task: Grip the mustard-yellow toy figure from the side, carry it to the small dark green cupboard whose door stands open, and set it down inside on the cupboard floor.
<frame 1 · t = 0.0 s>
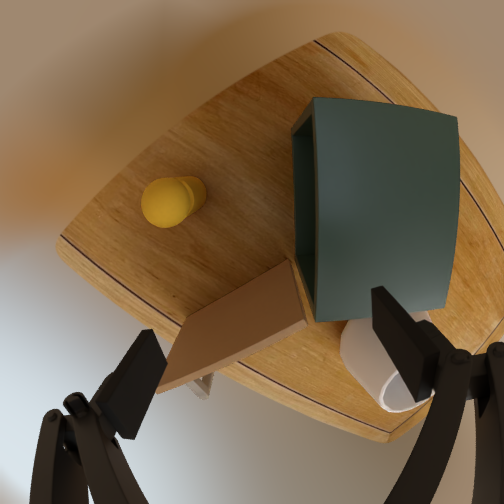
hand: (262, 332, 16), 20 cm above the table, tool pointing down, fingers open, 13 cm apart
white tapered cylinder: (376, 323, 37), on the table
toy: (189, 194, 33), on the table
cabinet door: (242, 338, 30), point 8 cm above the table, hinge at 120.0°
cabinet: (342, 195, 32), on the table
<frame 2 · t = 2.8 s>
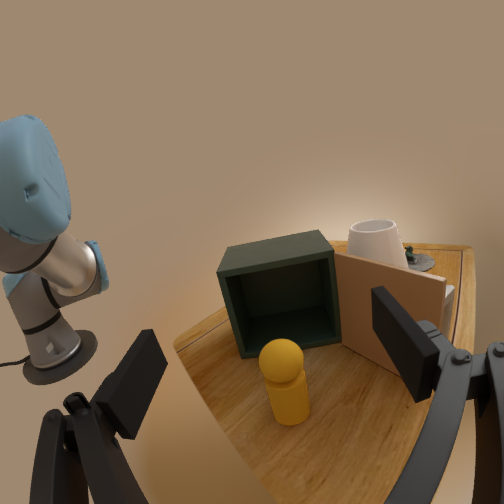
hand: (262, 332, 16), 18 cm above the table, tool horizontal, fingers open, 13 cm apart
white tapered cylinder: (377, 294, 51), on the table
toy: (292, 412, 30), on the table
sculpture: (411, 263, 60), on the table
cabinet door: (396, 310, 32), point 8 cm above the table, hinge at 120.0°
cabinet: (289, 330, 47), on the table
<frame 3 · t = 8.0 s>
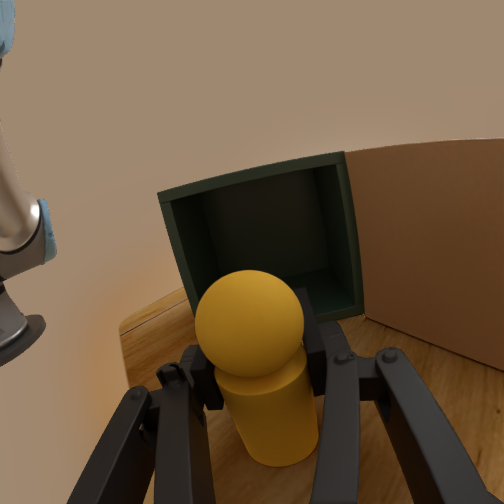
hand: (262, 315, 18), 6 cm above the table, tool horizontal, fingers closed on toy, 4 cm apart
toy: (282, 438, 14), on the table, touching gripper
cabinet door: (457, 242, 16), point 8 cm above the table, hinge at 120.0°
cabinet: (281, 303, 32), on the table
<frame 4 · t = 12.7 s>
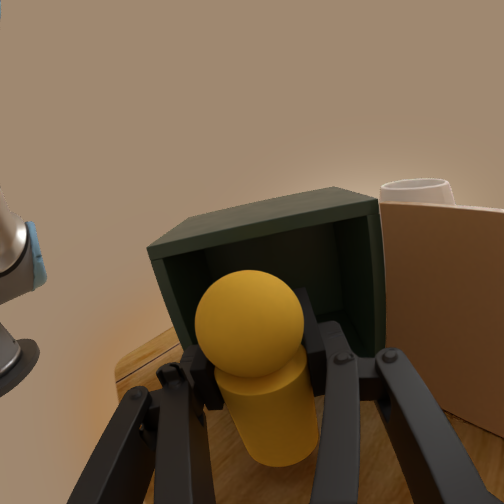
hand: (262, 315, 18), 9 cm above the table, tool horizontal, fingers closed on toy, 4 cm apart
white tapered cylinder: (420, 291, 32), on the table
toy: (282, 438, 14), point 4 cm above the table, touching gripper
cabinet door: (496, 315, 12), point 8 cm above the table, hinge at 120.0°
cabinet: (290, 353, 28), on the table
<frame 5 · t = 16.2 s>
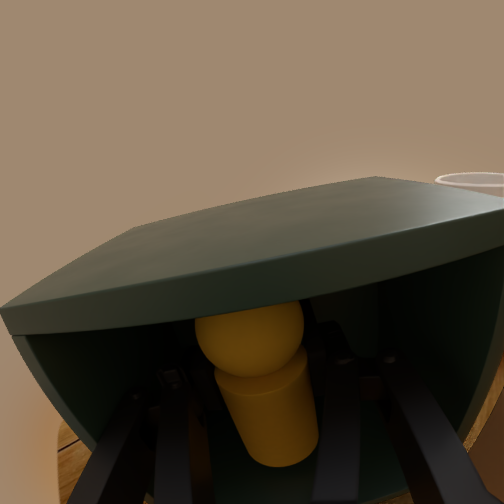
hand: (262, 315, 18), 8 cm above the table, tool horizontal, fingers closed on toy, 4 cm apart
white tapered cylinder: (473, 330, 20), on the table
toy: (282, 438, 14), point 2 cm above the table, touching gripper
cabinet: (297, 444, 15), on the table
when the fingers open (7 cm above the table, at t = 17.3 s): toy stays where it is, resting on cabinet.
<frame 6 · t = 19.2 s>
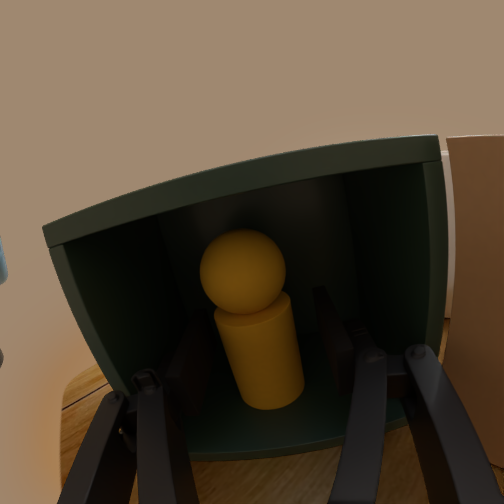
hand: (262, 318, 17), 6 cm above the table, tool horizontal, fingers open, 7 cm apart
white tapered cylinder: (453, 295, 23), on the table
toy: (272, 386, 18), point 1 cm above the table, touching cabinet
cabinet: (285, 388, 18), on the table
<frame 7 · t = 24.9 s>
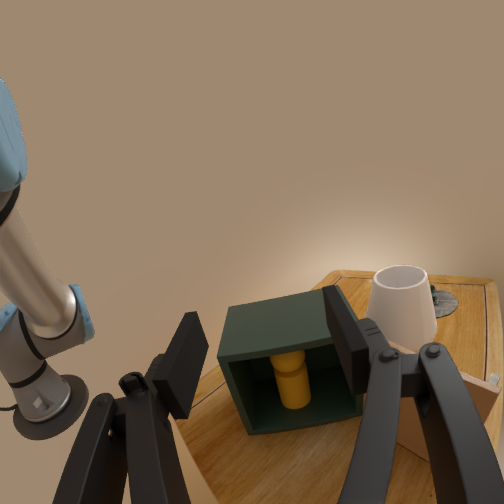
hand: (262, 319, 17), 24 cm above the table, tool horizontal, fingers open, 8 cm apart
white tapered cylinder: (398, 348, 42), on the table
toy: (296, 398, 37), point 1 cm above the table, touching cabinet
sculpture: (432, 303, 51), on the table
cabinet door: (430, 396, 23), point 8 cm above the table, hinge at 120.0°
cabinet: (302, 398, 38), on the table
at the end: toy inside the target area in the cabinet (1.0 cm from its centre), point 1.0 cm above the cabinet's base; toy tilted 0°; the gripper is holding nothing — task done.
